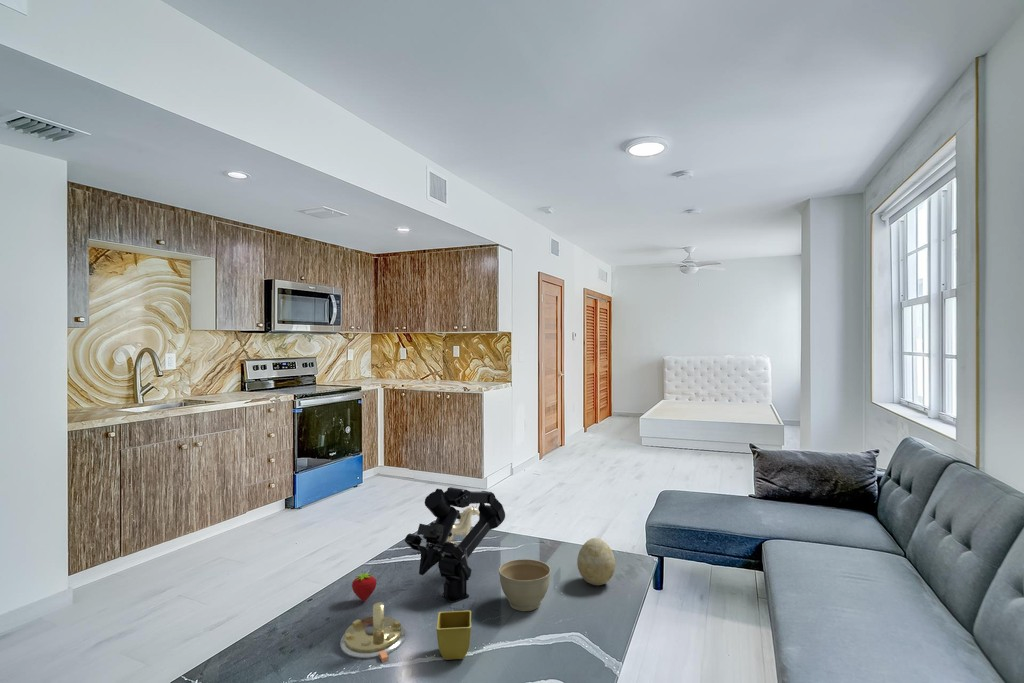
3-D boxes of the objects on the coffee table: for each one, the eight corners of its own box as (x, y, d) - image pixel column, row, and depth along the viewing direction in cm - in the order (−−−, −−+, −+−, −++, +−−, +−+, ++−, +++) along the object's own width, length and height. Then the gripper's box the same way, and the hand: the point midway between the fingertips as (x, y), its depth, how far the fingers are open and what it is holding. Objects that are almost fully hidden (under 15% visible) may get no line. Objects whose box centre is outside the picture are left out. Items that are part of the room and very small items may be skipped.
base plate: (390, 617, 150) (390, 605, 150) (415, 644, 136) (415, 630, 136) (332, 636, 140) (332, 623, 140) (352, 667, 126) (352, 653, 126)
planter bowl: (558, 597, 161) (557, 563, 161) (539, 622, 146) (539, 584, 146) (512, 588, 168) (512, 555, 168) (490, 610, 153) (489, 574, 153)
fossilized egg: (573, 588, 167) (572, 542, 168) (582, 572, 179) (582, 530, 179) (611, 595, 163) (611, 548, 163) (618, 578, 174) (618, 534, 175)
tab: (378, 656, 130) (378, 652, 130) (384, 654, 131) (385, 650, 131) (382, 662, 128) (382, 658, 128) (388, 660, 128) (388, 656, 129)
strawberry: (376, 604, 157) (376, 572, 157) (350, 607, 155) (350, 574, 155) (377, 595, 163) (377, 564, 163) (352, 598, 161) (352, 566, 161)
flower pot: (438, 645, 135) (438, 611, 135) (471, 643, 136) (471, 609, 136) (436, 665, 126) (436, 629, 127) (471, 663, 127) (471, 627, 127)
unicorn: (433, 553, 197) (433, 509, 197) (431, 549, 201) (430, 506, 201) (482, 546, 204) (482, 503, 204) (479, 542, 208) (479, 500, 208)
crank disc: (339, 630, 141) (340, 590, 141) (393, 617, 148) (393, 578, 148) (350, 659, 128) (350, 614, 128) (408, 643, 135) (408, 600, 135)
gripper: (408, 507, 157) (382, 555, 147) (457, 516, 148) (433, 568, 138) (424, 525, 163) (401, 572, 154) (472, 535, 154) (450, 586, 144)
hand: (420, 574), depth 147 cm, fingers closed
